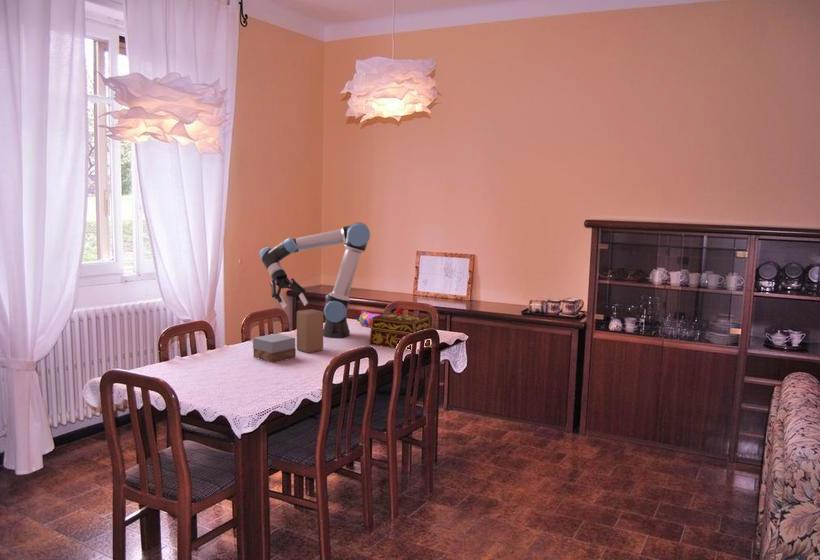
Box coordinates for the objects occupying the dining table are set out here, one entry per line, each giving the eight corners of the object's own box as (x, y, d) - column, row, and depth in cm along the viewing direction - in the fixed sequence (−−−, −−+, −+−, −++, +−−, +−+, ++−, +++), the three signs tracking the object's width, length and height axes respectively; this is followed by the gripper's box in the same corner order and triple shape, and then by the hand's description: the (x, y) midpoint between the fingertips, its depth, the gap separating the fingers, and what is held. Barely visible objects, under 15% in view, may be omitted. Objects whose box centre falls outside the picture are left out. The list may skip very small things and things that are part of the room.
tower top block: (252, 348, 312) (252, 337, 312) (276, 343, 323) (276, 333, 323) (272, 353, 304) (272, 342, 303) (295, 348, 315) (295, 337, 314)
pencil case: (356, 326, 394) (356, 311, 393) (368, 324, 401) (368, 309, 400) (380, 331, 379) (380, 316, 378) (392, 329, 385) (392, 314, 384)
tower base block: (253, 358, 313) (253, 348, 312) (277, 353, 324) (277, 343, 323) (271, 363, 304) (271, 353, 303) (295, 358, 315) (295, 348, 314)
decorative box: (368, 345, 345) (369, 317, 343) (387, 338, 361) (387, 311, 359) (414, 352, 332) (415, 322, 330) (431, 345, 348) (432, 317, 346)
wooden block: (312, 347, 337) (312, 308, 335) (324, 350, 330) (324, 311, 328) (295, 350, 330) (295, 310, 328) (307, 353, 323) (307, 313, 321)
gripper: (293, 276, 354) (311, 307, 346) (254, 279, 335) (272, 312, 327) (299, 267, 350) (318, 298, 342) (260, 270, 331) (279, 303, 323)
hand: (295, 305), depth 334 cm, fingers open, 13 cm apart
